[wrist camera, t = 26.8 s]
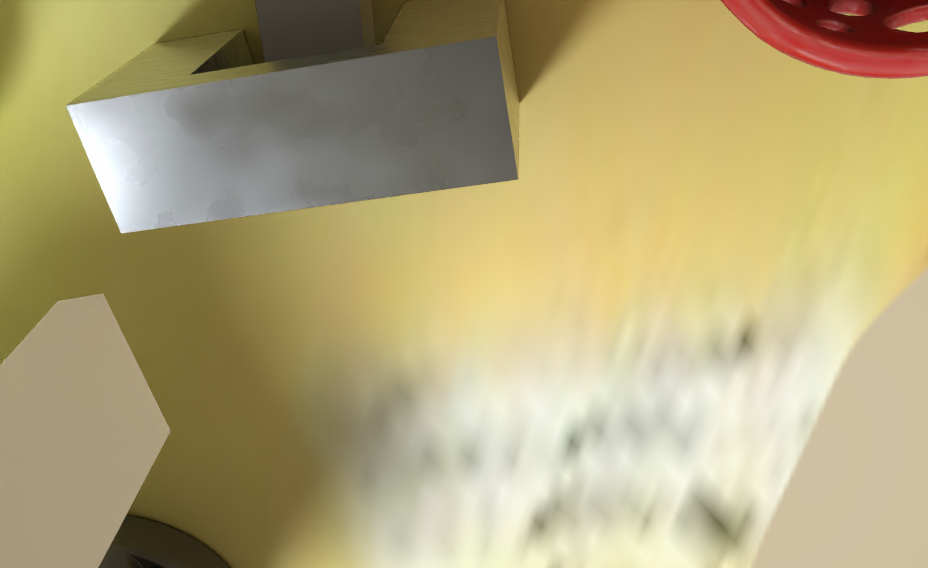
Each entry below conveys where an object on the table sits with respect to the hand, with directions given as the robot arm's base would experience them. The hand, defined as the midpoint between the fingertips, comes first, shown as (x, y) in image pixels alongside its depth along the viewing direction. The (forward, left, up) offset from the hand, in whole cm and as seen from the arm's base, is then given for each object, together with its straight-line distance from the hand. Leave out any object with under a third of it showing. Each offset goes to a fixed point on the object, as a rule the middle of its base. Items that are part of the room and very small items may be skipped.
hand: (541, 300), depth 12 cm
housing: (-9, -3, -24) cm, 26 cm away
